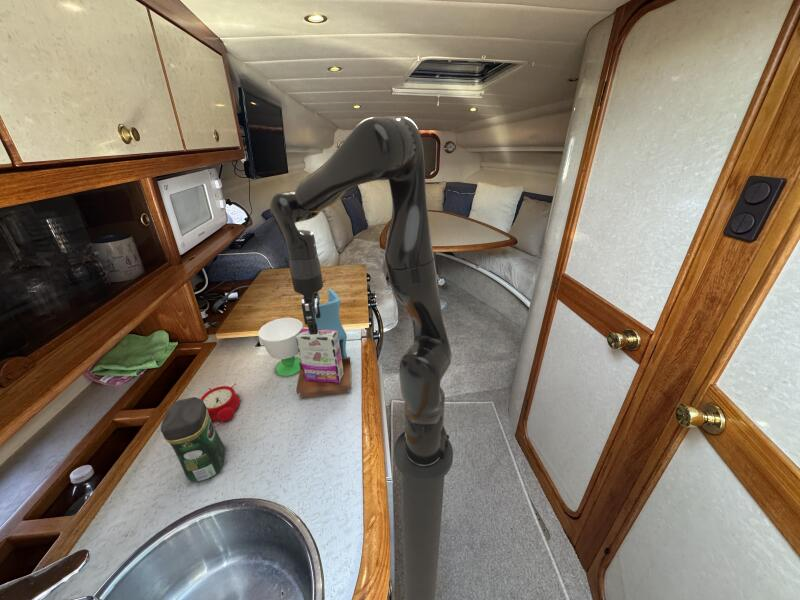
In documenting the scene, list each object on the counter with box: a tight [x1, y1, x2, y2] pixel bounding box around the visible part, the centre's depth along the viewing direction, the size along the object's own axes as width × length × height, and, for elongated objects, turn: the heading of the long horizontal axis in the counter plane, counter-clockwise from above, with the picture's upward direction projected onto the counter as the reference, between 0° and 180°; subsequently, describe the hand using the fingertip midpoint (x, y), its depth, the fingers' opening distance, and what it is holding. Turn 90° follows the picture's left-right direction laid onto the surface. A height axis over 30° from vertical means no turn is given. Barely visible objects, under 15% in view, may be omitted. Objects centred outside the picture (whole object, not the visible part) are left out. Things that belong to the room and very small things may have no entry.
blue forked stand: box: [301, 288, 348, 358], centre depth 104 cm, size 10×10×25 cm
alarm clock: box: [200, 382, 241, 428], centre depth 90 cm, size 10×6×15 cm
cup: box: [258, 317, 304, 377], centre depth 104 cm, size 14×14×16 cm
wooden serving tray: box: [295, 356, 352, 399], centre depth 98 cm, size 16×10×6 cm, turn 98°
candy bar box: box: [296, 327, 344, 383], centre depth 93 cm, size 11×5×16 cm, turn 82°
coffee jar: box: [160, 396, 226, 483], centre depth 72 cm, size 10×8×19 cm
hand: (315, 325), depth 88 cm, fingers open, 8 cm apart
